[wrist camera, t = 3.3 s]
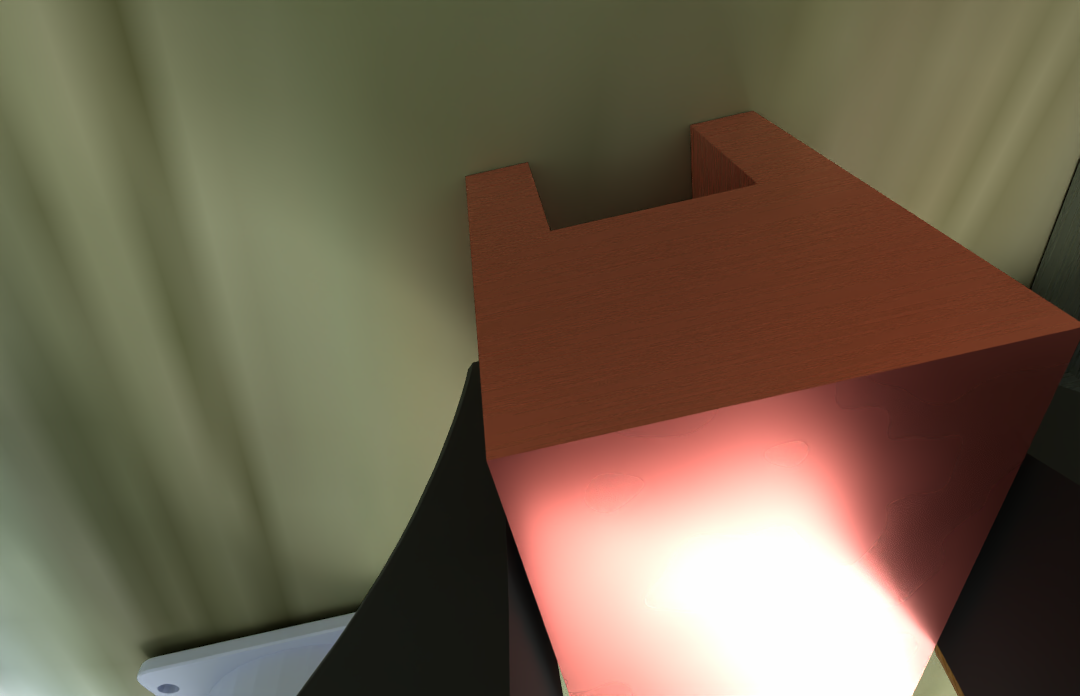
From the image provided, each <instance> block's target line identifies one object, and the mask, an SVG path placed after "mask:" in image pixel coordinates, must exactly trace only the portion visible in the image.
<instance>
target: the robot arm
mask: <svg viewBox="0 0 1080 696" xmlns="http://www.w3.org/2000/svg"><path fill="white" fill-rule="evenodd" d="M937 645H938V647H939V649H940V651H941V653H942V654H943V656H944V658H945V660H946V662H947V664H948V666H949V668H950V669H951V671H952V673H953V675H954V677H955V679H956V681H957V683H958V684H959V686H960V688H961V690H962V692H963V694H964V696H1080V392H1078V391H1075V390H1072V389H1069V388H1066V387H1063V386H1060V385H1058V387H1057V390H1056V392H1055V394H1054V396H1053V398H1052V400H1051V402H1050V404H1049V406H1048V409H1047V411H1046V413H1045V415H1044V417H1043V419H1042V421H1041V423H1040V426H1039V428H1038V430H1037V432H1036V434H1035V436H1034V438H1033V440H1032V442H1031V445H1030V447H1029V449H1028V451H1027V453H1026V455H1025V457H1024V459H1023V462H1022V464H1021V466H1020V468H1019V470H1018V472H1017V474H1016V476H1015V478H1014V481H1013V483H1012V485H1011V487H1010V489H1009V491H1008V493H1007V495H1006V498H1005V500H1004V502H1003V504H1002V506H1001V508H1000V510H999V512H998V514H997V517H996V519H995V521H994V523H993V525H992V527H991V529H990V531H989V534H988V536H987V538H986V540H985V542H984V544H983V546H982V548H981V550H980V553H979V555H978V557H977V559H976V561H975V563H974V565H973V567H972V570H971V572H970V574H969V576H968V578H967V580H966V582H965V584H964V586H963V589H962V591H961V593H960V595H959V597H958V599H957V601H956V603H955V605H954V608H953V610H952V612H951V614H950V616H949V618H948V620H947V622H946V625H945V627H944V629H943V631H942V633H941V635H940V637H939V639H938V641H937ZM137 680H138V681H139V683H140V684H141V685H143V686H144V687H145V688H147V689H148V690H149V691H151V692H152V693H153V694H155V695H156V696H563V693H562V687H561V681H560V675H559V669H558V663H557V658H556V656H555V653H554V650H553V647H552V644H551V641H550V639H549V636H548V633H547V630H546V627H545V625H544V622H543V619H542V616H541V613H540V610H539V608H538V605H537V602H536V599H535V596H534V593H533V591H532V588H531V585H530V582H529V579H528V577H527V574H526V571H525V568H524V565H523V562H522V560H521V557H520V554H519V551H518V548H517V545H516V543H515V540H514V537H513V534H512V531H511V528H510V526H509V523H508V520H507V517H506V514H505V512H504V509H503V506H502V503H501V500H500V497H499V495H498V492H497V489H496V486H495V483H494V480H493V478H492V475H491V472H490V469H489V466H488V464H487V460H486V447H485V433H484V420H483V406H482V393H481V379H480V366H479V361H478V362H473V363H472V365H471V366H470V367H469V369H468V372H467V377H466V381H465V384H464V388H463V391H462V395H461V398H460V401H459V404H458V407H457V410H456V413H455V416H454V419H453V422H452V425H451V427H450V430H449V433H448V435H447V438H446V440H445V443H444V446H443V448H442V451H441V453H440V456H439V458H438V461H437V463H436V466H435V468H434V470H433V472H432V474H431V477H430V479H429V481H428V483H427V485H426V487H425V490H424V492H423V494H422V496H421V498H420V500H419V503H418V505H417V507H416V509H415V511H414V513H413V515H412V517H411V519H410V521H409V523H408V525H407V527H406V529H405V530H404V532H403V534H402V536H401V538H400V540H399V542H398V543H397V545H396V547H395V549H394V550H393V552H392V554H391V556H390V557H389V559H388V561H387V563H386V564H385V566H384V568H383V570H382V571H381V573H380V575H379V576H378V578H377V579H376V581H375V583H374V584H373V586H372V587H371V589H370V590H369V592H368V594H367V595H366V597H365V598H364V600H363V602H362V603H361V605H360V606H359V608H358V610H357V611H356V612H354V613H349V614H345V615H341V616H336V617H332V618H327V619H323V620H318V621H314V622H309V623H305V624H300V625H296V626H291V627H287V628H282V629H278V630H273V631H269V632H265V633H260V634H256V635H251V636H247V637H242V638H238V639H233V640H229V641H224V642H220V643H215V644H211V645H206V646H202V647H197V648H193V649H189V650H184V651H180V652H175V653H171V654H166V655H162V656H157V657H153V658H150V659H148V660H146V661H145V662H144V663H142V665H141V668H140V670H139V673H138V675H137Z"/></svg>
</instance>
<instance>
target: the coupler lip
mask: <svg viewBox="0 0 1080 696" xmlns="http://www.w3.org/2000/svg"><path fill="white" fill-rule="evenodd" d="M1031 291H1033V292H1035V293H1036V294H1038V295H1039V296H1041V297H1042V298H1044V299H1045V300H1047V301H1048V302H1050V303H1052V304H1053V305H1055V306H1056V307H1058V308H1059V309H1061V310H1062V311H1064V312H1066V313H1067V314H1069V315H1070V316H1072V317H1073V318H1075V319H1076V320H1078V321H1079V322H1080V162H1079V165H1078V167H1077V170H1076V173H1075V175H1074V178H1073V180H1072V183H1071V186H1070V188H1069V191H1068V194H1067V196H1066V199H1065V201H1064V204H1063V207H1062V209H1061V212H1060V214H1059V217H1058V220H1057V222H1056V225H1055V227H1054V230H1053V233H1052V235H1051V238H1050V241H1049V243H1048V246H1047V248H1046V251H1045V254H1044V256H1043V259H1042V261H1041V264H1040V267H1039V269H1038V272H1037V275H1036V277H1035V280H1034V282H1033V285H1032V288H1031ZM1059 385H1060V386H1063V387H1066V388H1069V389H1072V390H1075V391H1078V392H1080V341H1079V343H1078V345H1077V347H1076V349H1075V351H1074V354H1073V356H1072V358H1071V360H1070V362H1069V364H1068V366H1067V368H1066V370H1065V373H1064V375H1063V377H1062V379H1061V381H1060V383H1059Z"/></svg>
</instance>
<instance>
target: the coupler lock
mask: <svg viewBox="0 0 1080 696" xmlns="http://www.w3.org/2000/svg"><path fill="white" fill-rule="evenodd" d="M690 132H691V170H692V199H689V200H685V201H681V202H676V203H672V204H667V205H663V206H659V207H654V208H650V209H645V210H641V211H637V212H632V213H628V214H623V215H619V216H615V217H610V218H606V219H601V220H597V221H593V222H588V223H584V224H579V225H575V226H571V227H566V228H562V229H557V230H553V231H550V228H549V225H548V222H547V219H546V216H545V213H544V210H543V207H542V204H541V201H540V198H539V195H538V192H537V189H536V186H535V183H534V180H533V177H532V174H531V170H530V167H529V164H528V162H527V163H522V164H518V165H513V166H509V167H505V168H500V169H496V170H491V171H487V172H483V173H478V174H474V175H470V176H465V177H466V191H467V204H468V218H469V231H470V245H471V258H472V272H473V285H474V299H475V312H476V325H477V339H478V352H479V366H480V379H481V393H482V406H483V420H484V433H485V447H486V460H487V464H488V466H489V469H490V472H491V475H492V478H493V480H494V483H495V486H496V489H497V492H498V495H499V497H500V500H501V503H502V506H503V509H504V512H505V514H506V517H507V520H508V523H509V526H510V528H511V531H512V534H513V537H514V540H515V543H516V545H517V548H518V551H519V554H520V557H521V560H522V562H523V565H524V568H525V571H526V574H527V577H528V579H529V582H530V585H531V588H532V591H533V593H534V596H535V599H536V602H537V605H538V608H539V610H540V613H541V616H542V619H543V622H544V625H545V627H546V630H547V633H548V636H549V639H550V641H551V644H552V647H553V650H554V653H555V656H556V658H557V661H558V664H559V667H560V670H561V673H562V675H563V678H564V681H565V684H566V687H567V689H568V692H569V695H570V696H912V694H913V692H914V690H915V688H916V686H917V684H918V682H919V680H920V677H921V675H922V673H923V671H924V669H925V667H926V665H927V663H928V661H929V658H930V656H931V654H932V652H933V650H934V648H935V646H936V644H937V641H938V639H939V637H940V635H941V633H942V631H943V629H944V627H945V625H946V622H947V620H948V618H949V616H950V614H951V612H952V610H953V608H954V605H955V603H956V601H957V599H958V597H959V595H960V593H961V591H962V589H963V586H964V584H965V582H966V580H967V578H968V576H969V574H970V572H971V570H972V567H973V565H974V563H975V561H976V559H977V557H978V555H979V553H980V550H981V548H982V546H983V544H984V542H985V540H986V538H987V536H988V534H989V531H990V529H991V527H992V525H993V523H994V521H995V519H996V517H997V514H998V512H999V510H1000V508H1001V506H1002V504H1003V502H1004V500H1005V498H1006V495H1007V493H1008V491H1009V489H1010V487H1011V485H1012V483H1013V481H1014V478H1015V476H1016V474H1017V472H1018V470H1019V468H1020V466H1021V464H1022V462H1023V459H1024V457H1025V455H1026V453H1027V451H1028V449H1029V447H1030V445H1031V442H1032V440H1033V438H1034V436H1035V434H1036V432H1037V430H1038V428H1039V426H1040V423H1041V421H1042V419H1043V417H1044V415H1045V413H1046V411H1047V409H1048V406H1049V404H1050V402H1051V400H1052V398H1053V396H1054V394H1055V392H1056V390H1057V387H1058V385H1059V383H1060V381H1061V379H1062V377H1063V375H1064V373H1065V370H1066V368H1067V366H1068V364H1069V362H1070V360H1071V358H1072V356H1073V354H1074V351H1075V349H1076V347H1077V345H1078V343H1079V341H1080V322H1079V321H1078V320H1076V319H1075V318H1073V317H1072V316H1070V315H1069V314H1067V313H1066V312H1064V311H1062V310H1061V309H1059V308H1058V307H1056V306H1055V305H1053V304H1052V303H1050V302H1048V301H1047V300H1045V299H1044V298H1042V297H1041V296H1039V295H1038V294H1036V293H1035V292H1033V291H1031V290H1030V289H1028V288H1027V287H1025V286H1024V285H1022V284H1021V283H1019V282H1018V281H1016V280H1014V279H1013V278H1011V277H1010V276H1008V275H1007V274H1005V273H1004V272H1002V271H1000V270H999V269H997V268H996V267H994V266H993V265H991V264H990V263H988V262H987V261H985V260H983V259H982V258H980V257H979V256H977V255H976V254H974V253H973V252H971V251H969V250H968V249H966V248H965V247H963V246H962V245H960V244H959V243H957V242H956V241H954V240H952V239H951V238H949V237H948V236H946V235H945V234H943V233H942V232H940V231H938V230H937V229H935V228H934V227H932V226H931V225H929V224H928V223H926V222H925V221H923V220H921V219H920V218H918V217H917V216H915V215H914V214H912V213H911V212H909V211H907V210H906V209H904V208H903V207H901V206H900V205H898V204H897V203H895V202H894V201H892V200H890V199H889V198H887V197H886V196H884V195H883V194H881V193H880V192H878V191H876V190H875V189H873V188H872V187H870V186H869V185H867V184H866V183H864V182H863V181H861V180H859V179H858V178H856V177H855V176H853V175H852V174H850V173H849V172H847V171H845V170H844V169H842V168H841V167H839V166H838V165H836V164H835V163H833V162H832V161H830V160H828V159H827V158H825V157H824V156H822V155H821V154H819V153H818V152H816V151H814V150H813V149H811V148H810V147H808V146H807V145H805V144H804V143H802V142H801V141H799V140H797V139H796V138H794V137H793V136H791V135H790V134H788V133H787V132H785V131H783V130H782V129H780V128H779V127H777V126H776V125H774V124H773V123H771V122H770V121H768V120H766V119H765V118H763V117H762V116H760V115H759V114H757V113H756V112H754V111H750V112H746V113H741V114H737V115H733V116H728V117H724V118H719V119H715V120H711V121H706V122H702V123H697V124H693V125H690Z"/></svg>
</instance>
